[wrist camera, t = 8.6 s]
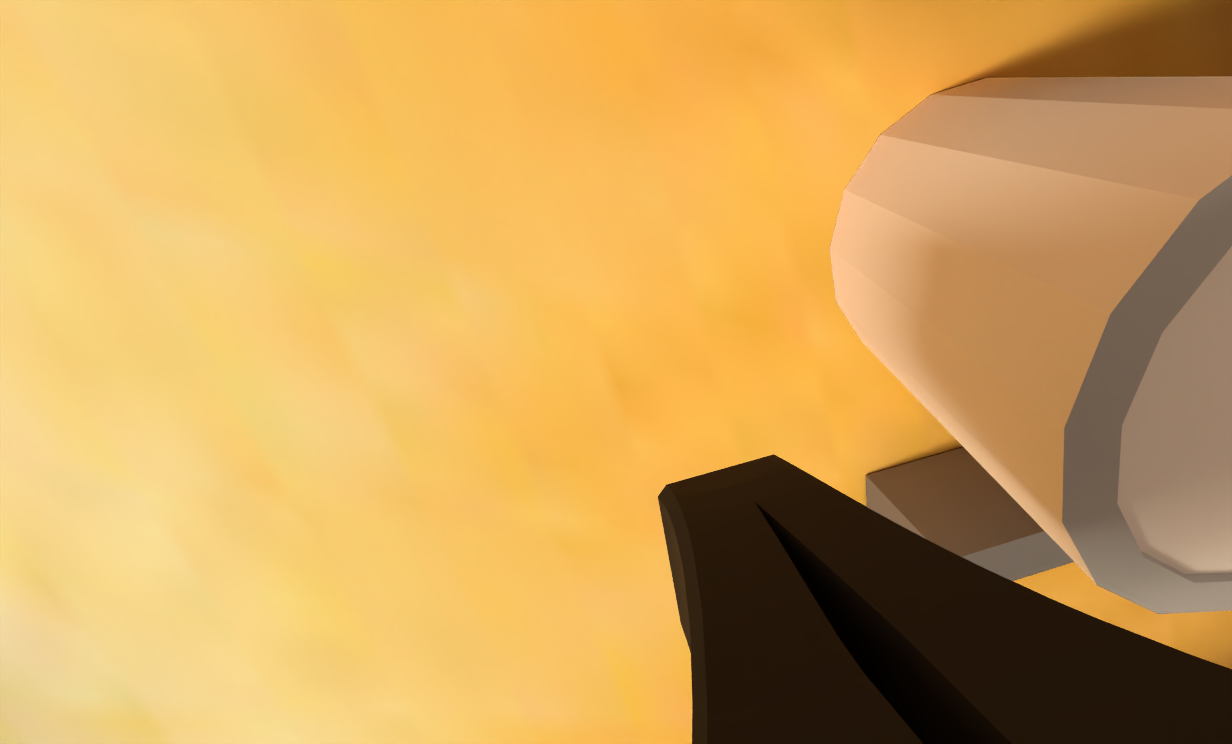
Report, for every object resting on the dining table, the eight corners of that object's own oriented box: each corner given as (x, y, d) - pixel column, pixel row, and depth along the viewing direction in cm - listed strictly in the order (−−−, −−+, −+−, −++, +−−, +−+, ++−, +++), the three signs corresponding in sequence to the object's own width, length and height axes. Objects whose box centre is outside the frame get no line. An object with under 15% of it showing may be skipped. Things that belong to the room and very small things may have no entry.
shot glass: (856, 448, 17) (1108, 703, 11) (747, 155, 14) (1016, 283, 8) (1141, 295, 17) (1550, 463, 11) (1097, -33, 14) (1640, -53, 8)
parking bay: (1291, 386, 19) (1431, 448, 17) (866, 512, 18) (946, 602, 15) (1434, -220, 14) (1674, -269, 11) (844, -108, 13) (960, -134, 10)
